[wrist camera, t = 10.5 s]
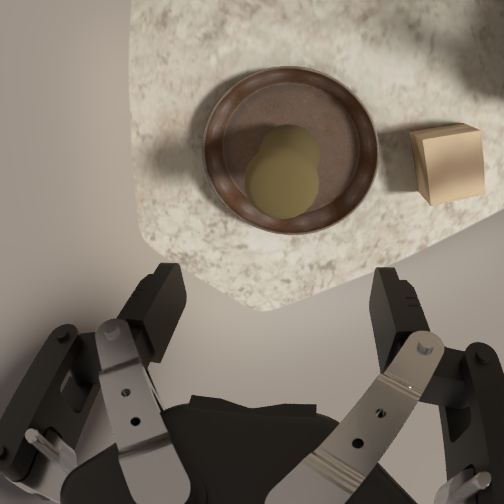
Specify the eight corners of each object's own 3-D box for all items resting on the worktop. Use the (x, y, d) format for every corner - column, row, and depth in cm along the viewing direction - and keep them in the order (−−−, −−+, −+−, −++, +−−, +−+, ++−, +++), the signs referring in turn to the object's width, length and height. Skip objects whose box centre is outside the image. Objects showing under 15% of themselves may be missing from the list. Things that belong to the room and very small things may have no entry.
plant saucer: (343, 47, 26) (347, 44, 23) (388, 200, 34) (395, 211, 31) (184, 103, 31) (174, 106, 29) (245, 239, 39) (241, 252, 36)
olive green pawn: (286, 195, 32) (274, 248, 22) (245, 150, 30) (214, 184, 21) (333, 159, 29) (345, 197, 20) (292, 111, 28) (283, 124, 18)
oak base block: (409, 131, 29) (422, 139, 25) (463, 123, 27) (480, 130, 23) (418, 191, 32) (430, 205, 29) (469, 181, 30) (485, 194, 27)
